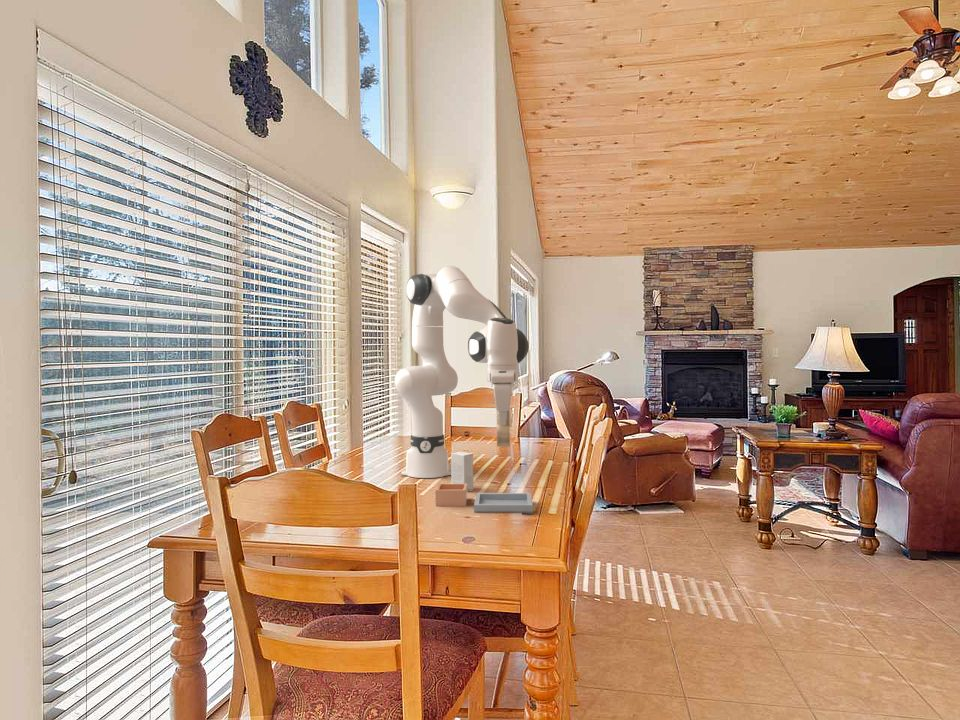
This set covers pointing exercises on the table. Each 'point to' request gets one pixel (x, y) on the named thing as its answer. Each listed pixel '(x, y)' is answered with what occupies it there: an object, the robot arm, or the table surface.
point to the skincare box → (462, 469)
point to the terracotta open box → (451, 495)
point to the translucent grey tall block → (503, 432)
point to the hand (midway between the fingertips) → (503, 424)
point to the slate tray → (503, 503)
